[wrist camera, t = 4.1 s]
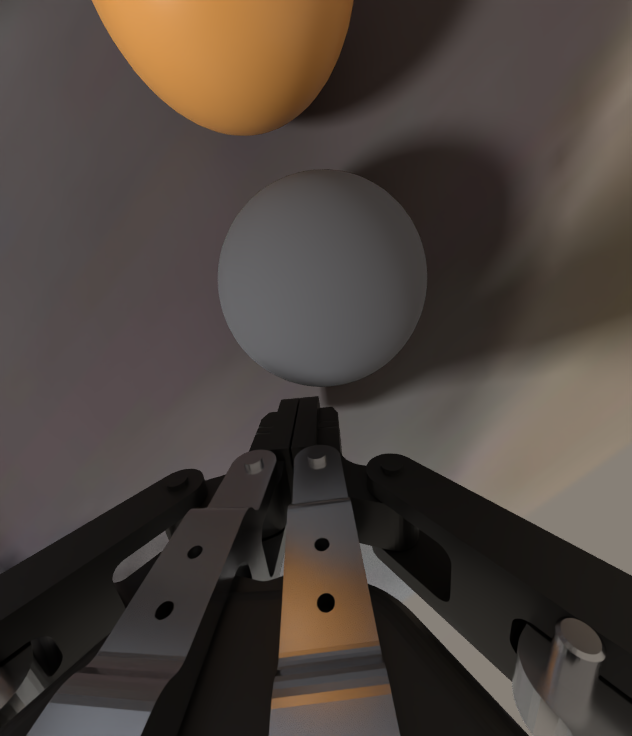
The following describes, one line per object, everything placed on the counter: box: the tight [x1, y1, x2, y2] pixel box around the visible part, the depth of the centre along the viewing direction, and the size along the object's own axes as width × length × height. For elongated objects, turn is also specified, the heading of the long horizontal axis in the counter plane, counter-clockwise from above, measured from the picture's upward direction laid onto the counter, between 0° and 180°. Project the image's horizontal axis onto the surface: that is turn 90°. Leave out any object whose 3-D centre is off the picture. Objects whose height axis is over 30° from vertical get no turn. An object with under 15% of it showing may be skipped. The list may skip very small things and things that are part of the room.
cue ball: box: [218, 169, 427, 387], centre depth 9 cm, size 6×6×6 cm
